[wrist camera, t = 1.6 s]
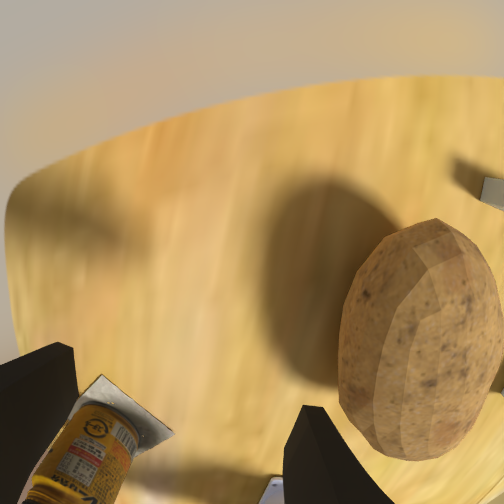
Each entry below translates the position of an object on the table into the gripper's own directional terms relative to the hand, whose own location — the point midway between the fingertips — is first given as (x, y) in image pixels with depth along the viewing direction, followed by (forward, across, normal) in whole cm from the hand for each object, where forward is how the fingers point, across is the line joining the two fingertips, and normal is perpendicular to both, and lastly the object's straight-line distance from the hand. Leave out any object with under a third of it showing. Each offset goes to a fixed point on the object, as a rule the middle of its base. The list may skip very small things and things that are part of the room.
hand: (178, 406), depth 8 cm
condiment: (+11, +7, +15) cm, 20 cm away
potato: (+11, -11, 0) cm, 15 cm away
